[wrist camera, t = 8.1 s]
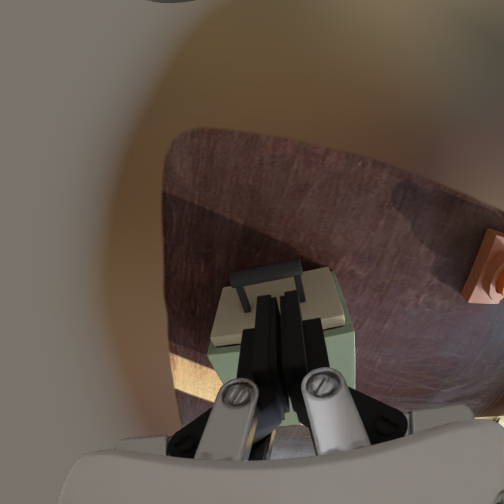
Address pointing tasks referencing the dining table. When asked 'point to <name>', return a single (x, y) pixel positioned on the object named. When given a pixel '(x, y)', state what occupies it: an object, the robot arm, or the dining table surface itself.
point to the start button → (500, 283)
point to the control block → (486, 270)
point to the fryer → (337, 346)
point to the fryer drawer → (274, 283)
